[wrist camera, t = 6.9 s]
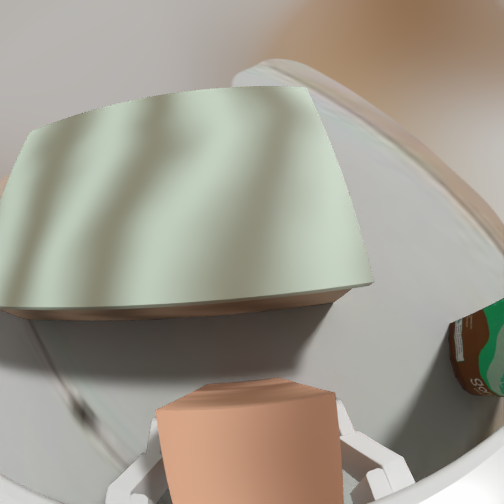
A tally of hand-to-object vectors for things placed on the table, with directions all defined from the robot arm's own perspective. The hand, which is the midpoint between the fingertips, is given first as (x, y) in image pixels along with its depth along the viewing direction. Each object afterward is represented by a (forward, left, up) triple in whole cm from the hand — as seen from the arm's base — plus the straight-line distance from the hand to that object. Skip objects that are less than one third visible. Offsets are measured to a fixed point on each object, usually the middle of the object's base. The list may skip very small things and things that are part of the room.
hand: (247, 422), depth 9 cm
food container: (+18, -3, -6) cm, 19 cm away
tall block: (0, -1, -5) cm, 5 cm away
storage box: (-5, +12, -5) cm, 14 cm away
